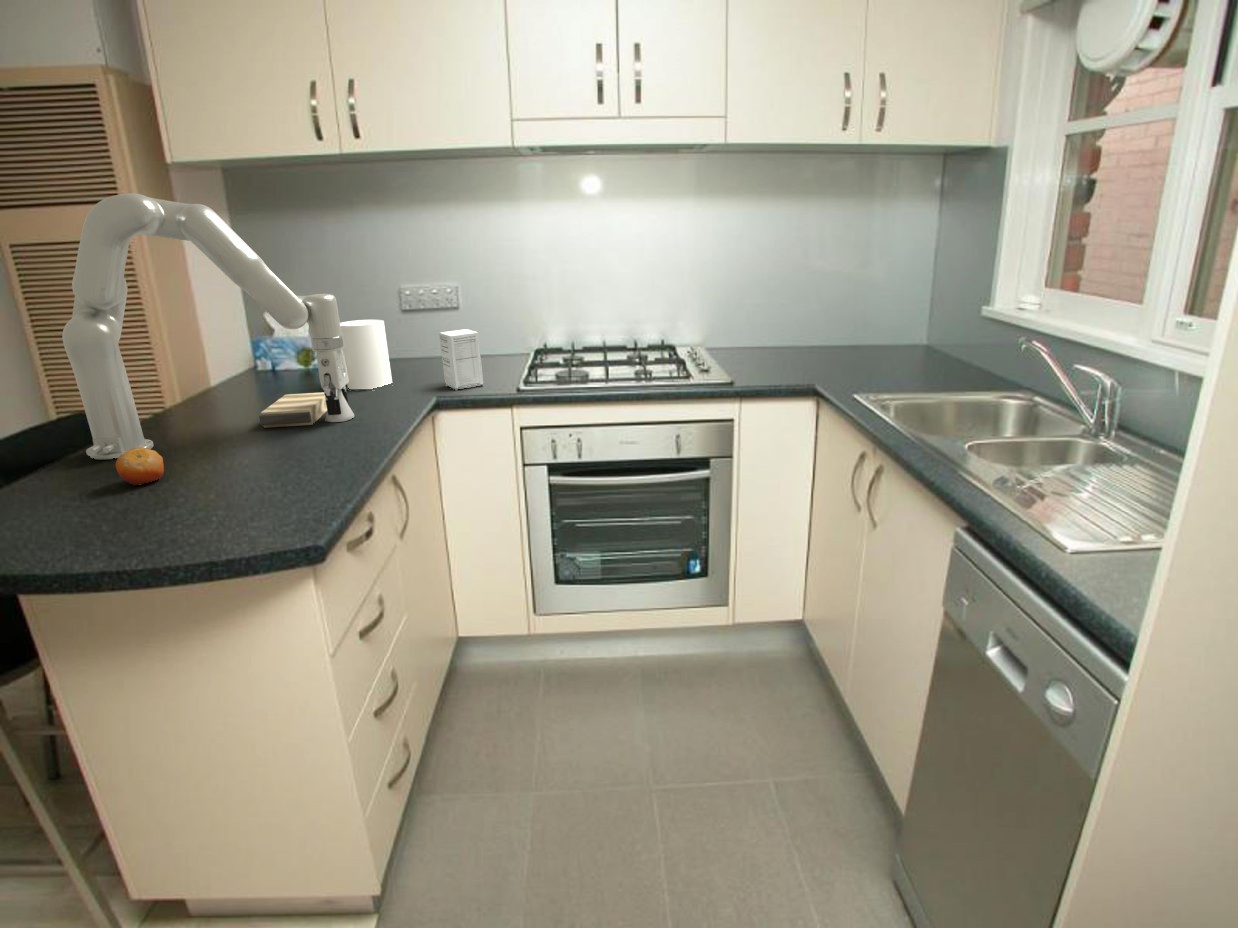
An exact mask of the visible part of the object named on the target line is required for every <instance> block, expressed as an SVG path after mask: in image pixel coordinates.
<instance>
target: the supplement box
mask: <svg viewBox="0 0 1238 928" xmlns="http://www.w3.org/2000/svg"><path fill="white" fill-rule="evenodd" d="M438 336H439V343H440V352H441V353H440V354H441V361H442V368H443V375H444V384H445V383H446V384H448V385H451V386H452V387H455V388H458V387H467V386H471V385H477V384H483V383H484V376H483V367H482V357H481V348H480V347H481V346H480V338H479V332H478V331H474V330H471V329H468V328H467V329H458V330H450V331H443V332H439V333H438Z"/></svg>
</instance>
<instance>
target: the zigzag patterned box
mask: <svg viewBox="0 0 1238 928" xmlns="http://www.w3.org/2000/svg"><path fill="white" fill-rule="evenodd" d="M324 393H325V392H307V393H290V394H289V393H288V394H284V395H283V396H282V397H280V398H278V399H277V400H276V401H275V402H273V403H272V404H270V405H269V406H267V407H266V408H265V409H263V410H262V411H261V412H260V415H259V417H258V418H259V424H260V426H261V427H262V426H263V428H265V429H266V428H267V429H269V428H280V427H281V428H282V427H296V426H299V427H300V426H312V425H313V423H314V424H315V422H317V421H318V420H319V419H321V418H322V416H323V415H324V414H325V413H327V405H326V400H325V394H324Z"/></svg>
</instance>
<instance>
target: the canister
mask: <svg viewBox="0 0 1238 928" xmlns="http://www.w3.org/2000/svg"><path fill="white" fill-rule="evenodd" d="M340 325H341V332H342V338H343V344H344V349H342V350H343V354H344V358H345V362H346V367H347V372H348V377H349V382H348V383H347V384H346V385H347V389H348V388H349V389H373V388H377V387H382V386H384V385H388V384H391V383H393V377H392V371H391V364H390V363H391V362H390V357H389V348H388V342H387V341H388V340H387V334H386V328H385V327H386V326H385V321H384V320H382V319H357V320H349V321H348V320H347V321H342V322H340ZM349 389H348V390H349Z"/></svg>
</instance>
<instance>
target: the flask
mask: <svg viewBox="0 0 1238 928" xmlns="http://www.w3.org/2000/svg"><path fill="white" fill-rule="evenodd" d="M334 387H335V386H334ZM330 388H332V387H330ZM332 392H333V394H334V391H332ZM337 399H339V402H340V408H341V414H340V415H328V411H326V412H325V413H326V415H325V419H324V421H325V422H327V423H328V422H329V423H339V422H340V423H341V422H342V423H343V422H346V421H350V420H353V419H352V418H355V413H354V412H353V410H352V409H351V406H349V405H350V404H349V402H348V403H347V402H346V400H345V398H344V396H343V394H342V391H341V389H339V388H337ZM348 404H349V405H348Z"/></svg>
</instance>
